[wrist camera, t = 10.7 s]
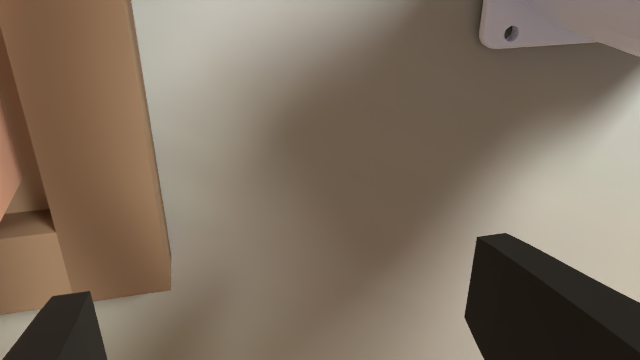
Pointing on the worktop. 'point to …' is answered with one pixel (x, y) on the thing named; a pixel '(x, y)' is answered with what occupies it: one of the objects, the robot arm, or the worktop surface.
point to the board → (78, 156)
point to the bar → (7, 166)
